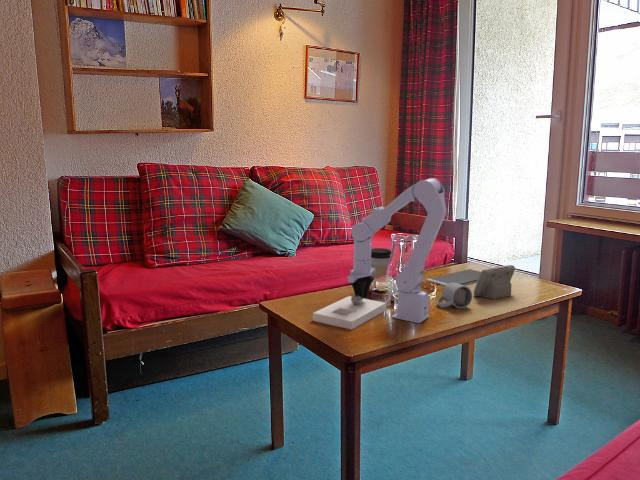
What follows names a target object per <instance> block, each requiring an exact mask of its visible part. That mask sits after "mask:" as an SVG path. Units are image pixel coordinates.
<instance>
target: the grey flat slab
mask: <svg viewBox="0 0 640 480" xmlns="http://www.w3.org/2000/svg"><path fill="white" fill-rule="evenodd" d="M480 273H481V271H480V270H475V269H472V268H470V269H469V268H468V269H464V270H461V271H455V272H451V273H447V274H442V275H438V276H433V277H428V278H426V282H428V283H431V284H435V285H439V286H441V287H443V288H444V287H445V286H446V285H447V284H449V283H457V284H460V285H464V286H468V285H473V284H477V281H478V279H479V276H480Z"/></svg>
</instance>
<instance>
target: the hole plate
mask: <svg viewBox="0 0 640 480" xmlns="http://www.w3.org/2000/svg"><path fill="white" fill-rule="evenodd" d="M352 296H353V295H348V296H346V297H344V298H343V299H342V298H341V299H340V300H338V301H335V302H334V303H330V304H328V305H327V306H325V307H322V308H320V309H318V310H317V311H314V312H312V321H314V322H317V323H321V324H326V325H330V326H334V327H339V328H343V329H348V330H354V329H356V328H357V327H359V326H361V325H363V324H365V323H366V322H368V321H369V320H371V319H373V318H375V317H376V316H378V315H381V314H382V313H384V312H386V311H387V302H384V301H379V300H373V299H369V298H366V299H365V298H363V300H362V302H361V303H360V304H359V305H354V304H353V303H352V302H351V297H352Z"/></svg>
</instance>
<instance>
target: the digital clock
mask: <svg viewBox="0 0 640 480" xmlns="http://www.w3.org/2000/svg"><path fill="white" fill-rule="evenodd" d="M515 270H516V266H514V265H512V264H509V265H508V264H507V265H500V266H495V267H490V268H484V269H482V270H481V271H480V272H481V273H480V276H479V279H478V281H477V283H475V284H476V285H475V286H474V290H473V295H474V296H475V297H485V296H486V298H488V297H489V298H488V299H491V298H492V299H491V300H495V299H496V298H497V299H500V297H502V298H505V296H506V297H510V296H509V295H511V296H512V283H511V280H512V278H513V276H514V273H515Z"/></svg>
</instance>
